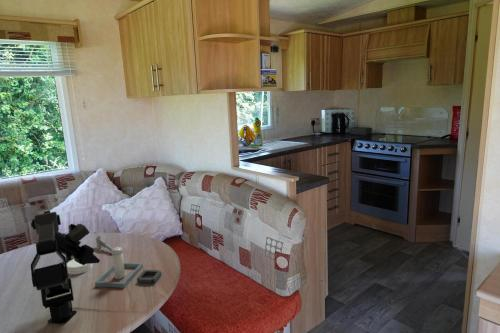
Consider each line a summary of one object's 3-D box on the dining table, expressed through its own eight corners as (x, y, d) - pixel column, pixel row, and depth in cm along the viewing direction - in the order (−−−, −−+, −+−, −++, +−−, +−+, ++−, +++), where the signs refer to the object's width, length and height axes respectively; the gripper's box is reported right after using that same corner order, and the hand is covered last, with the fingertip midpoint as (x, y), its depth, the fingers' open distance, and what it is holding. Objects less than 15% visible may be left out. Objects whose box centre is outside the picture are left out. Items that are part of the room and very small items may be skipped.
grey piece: (154, 287, 132) (153, 281, 132) (134, 287, 133) (133, 280, 133) (164, 274, 142) (163, 268, 141) (145, 273, 143) (145, 268, 142)
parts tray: (124, 289, 132) (124, 283, 131) (95, 288, 134) (94, 282, 133) (143, 268, 147) (142, 263, 147) (116, 267, 149) (116, 262, 149)
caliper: (96, 247, 171) (95, 235, 169) (99, 246, 172) (97, 234, 170) (121, 257, 159) (119, 245, 158) (123, 256, 160) (121, 244, 158)
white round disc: (80, 276, 143) (79, 268, 142) (61, 273, 146) (60, 265, 146) (97, 265, 152) (96, 257, 152) (79, 262, 156) (78, 255, 155)
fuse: (122, 279, 138) (119, 251, 135) (112, 279, 139) (109, 251, 136) (127, 274, 142) (124, 247, 139) (118, 273, 143) (114, 246, 140)
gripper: (84, 225, 115) (118, 244, 126) (59, 215, 127) (92, 233, 138) (64, 256, 111) (100, 273, 122) (40, 242, 123) (75, 259, 133)
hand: (92, 258), depth 129 cm, fingers open, 9 cm apart
